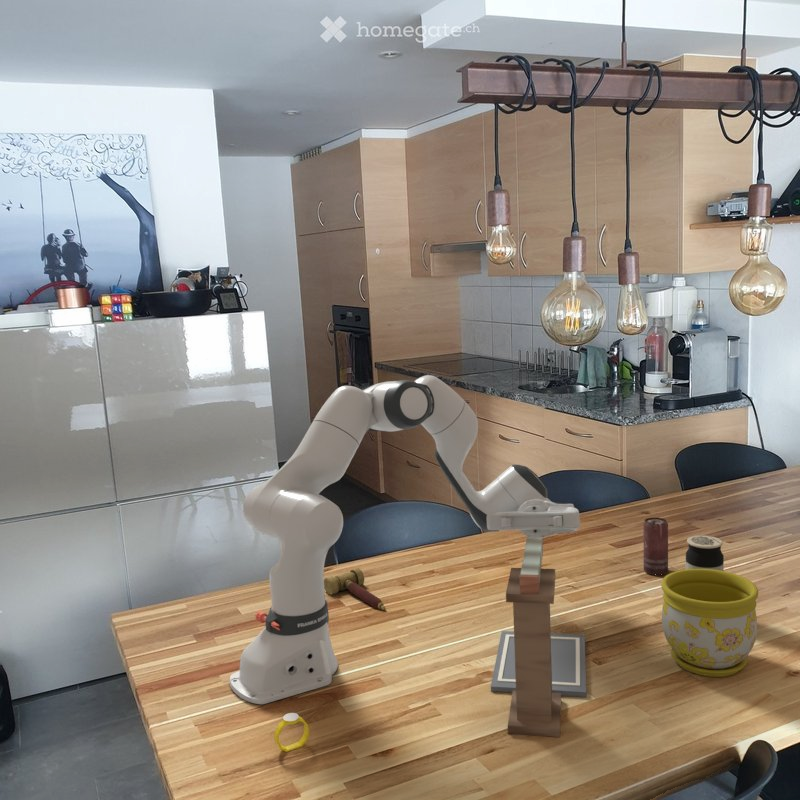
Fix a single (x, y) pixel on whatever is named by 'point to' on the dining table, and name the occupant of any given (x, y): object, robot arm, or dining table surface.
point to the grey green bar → (531, 566)
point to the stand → (533, 659)
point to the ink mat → (563, 660)
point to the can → (655, 546)
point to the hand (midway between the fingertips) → (529, 522)
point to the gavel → (352, 587)
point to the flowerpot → (709, 620)
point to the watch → (291, 719)
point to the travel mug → (704, 553)
